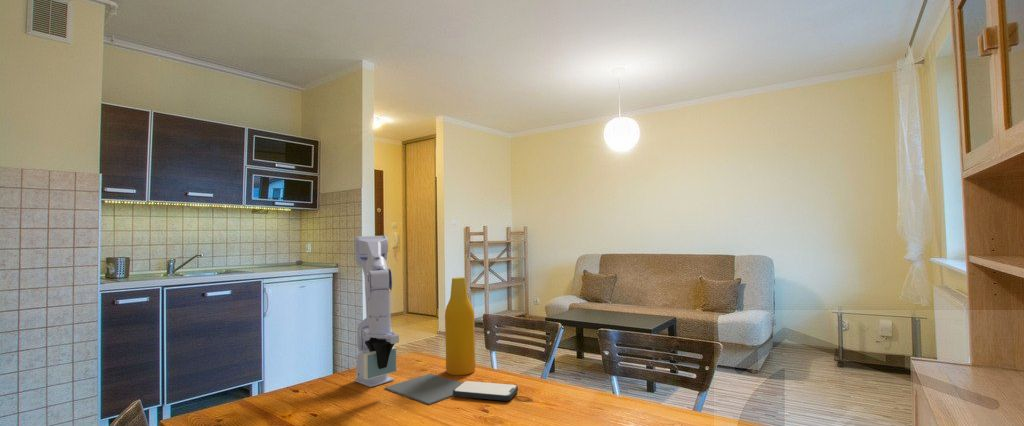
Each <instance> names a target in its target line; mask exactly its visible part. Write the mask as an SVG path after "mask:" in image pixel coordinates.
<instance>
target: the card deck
mask: <svg viewBox="0 0 1024 426" xmlns="http://www.w3.org/2000/svg"><path fill="white" fill-rule="evenodd" d="M397 368H398V367H397V347H396V346H393V348H392V350H391V352H390V355H389V359H388V364H387V367H386V368H382V369H379V368H378V363H377V355H376V351H373V352H368V353H364V379H366V380H368V379H372V378H375V377H379V376H382V375H386V374H388V375H389V374H392V373H393V374H394V373H396V372H397Z"/></svg>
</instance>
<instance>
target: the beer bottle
mask: <svg viewBox="0 0 1024 426" xmlns="http://www.w3.org/2000/svg"><path fill="white" fill-rule="evenodd" d="M450 286H451V287H450V298H449V301H448V303H447V305H446V308H445V313H444V331H445V335H444V336H445V338H444V339H445V370H446V373H447V374H448V375H451V376H466V375H470V374H472V373H474V372H475V371H476V368H477V367H476V365H477V364H476V363H477V362H476V344H475V343H476V338H475V336H476V335H475V334H476V333H475V332H476V331H475V311H474V307H473V305H472V303H471V300H470V299H469V295H468V287H467V279H466V277H462V276H461V277H458V276H457V277H452V278H451V285H450Z"/></svg>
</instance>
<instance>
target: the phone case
mask: <svg viewBox="0 0 1024 426" xmlns="http://www.w3.org/2000/svg"><path fill="white" fill-rule="evenodd" d="M517 392H519V386H518V385H517V384H509V383H508V384H506V383H497V382H483V381H471V380H465V381H462V383H461V384H460V385H459V386H458V387H456V388H455V389H454V390H453V395H454V396H453V397H462V398H470V399H482V400H492V401H505V402H508V401H511V400H512V398H513V397H514V396H515V395H516V394H517Z"/></svg>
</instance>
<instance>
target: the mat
mask: <svg viewBox="0 0 1024 426" xmlns="http://www.w3.org/2000/svg"><path fill="white" fill-rule="evenodd" d="M461 383H463V381H458V380H454V379H453V378H452V379H451V378H447V377H444V376H441V375H437V374H435V373H431V372H430V373H427V374H424V375H420V376H418V377H413V378H412V379H411V378H410V379H408V380H405V381H401V382H398V383H395V384H392V385H388V386H385V387H384V390H387V391H389V392H393V393H396V394H398V395H401V396H403V397H405V398H408V399H412V400H414V401H417V402H420V403H423V404H426V405H428V406H430V405H433V404H436V403H438V402H441V401H444V400H447V399H450V398H452V397H455V396H454V395H453V390H454V389H455V388H456V387H458V386H459V385H460V384H461Z"/></svg>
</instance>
